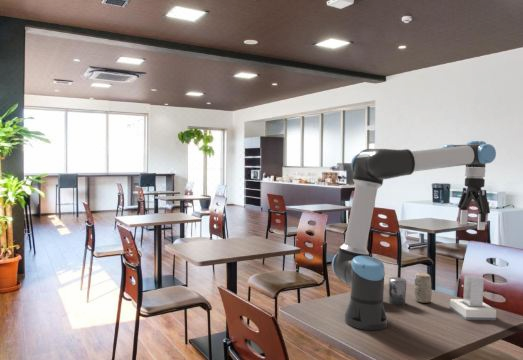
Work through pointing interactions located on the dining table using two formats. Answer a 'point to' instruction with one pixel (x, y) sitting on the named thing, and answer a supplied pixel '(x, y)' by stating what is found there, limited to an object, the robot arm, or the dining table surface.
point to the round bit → (397, 291)
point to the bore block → (472, 311)
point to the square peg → (473, 291)
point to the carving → (422, 287)
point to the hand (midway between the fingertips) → (471, 227)
